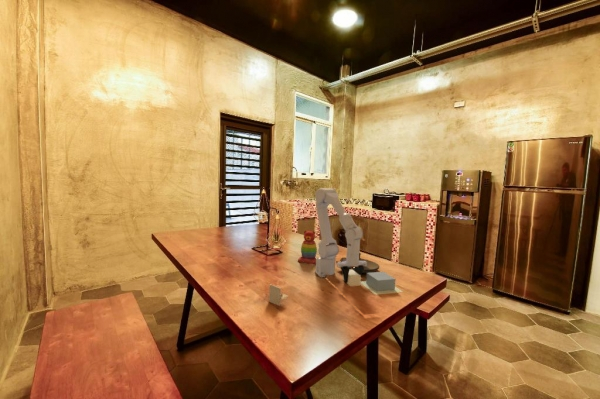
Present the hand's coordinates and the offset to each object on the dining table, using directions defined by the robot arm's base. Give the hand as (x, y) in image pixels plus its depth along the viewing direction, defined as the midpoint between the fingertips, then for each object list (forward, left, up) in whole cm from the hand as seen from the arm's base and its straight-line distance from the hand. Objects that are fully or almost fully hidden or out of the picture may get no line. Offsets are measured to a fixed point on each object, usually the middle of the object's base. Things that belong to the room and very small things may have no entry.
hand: (351, 281), depth 121 cm
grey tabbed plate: (-38, -10, -2) cm, 39 cm away
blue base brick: (+11, -7, 0) cm, 13 cm away
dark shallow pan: (+14, +17, -2) cm, 22 cm away
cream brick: (0, 0, -2) cm, 2 cm away
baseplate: (+11, -7, -1) cm, 13 cm away
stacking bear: (-9, +36, -2) cm, 37 cm away
